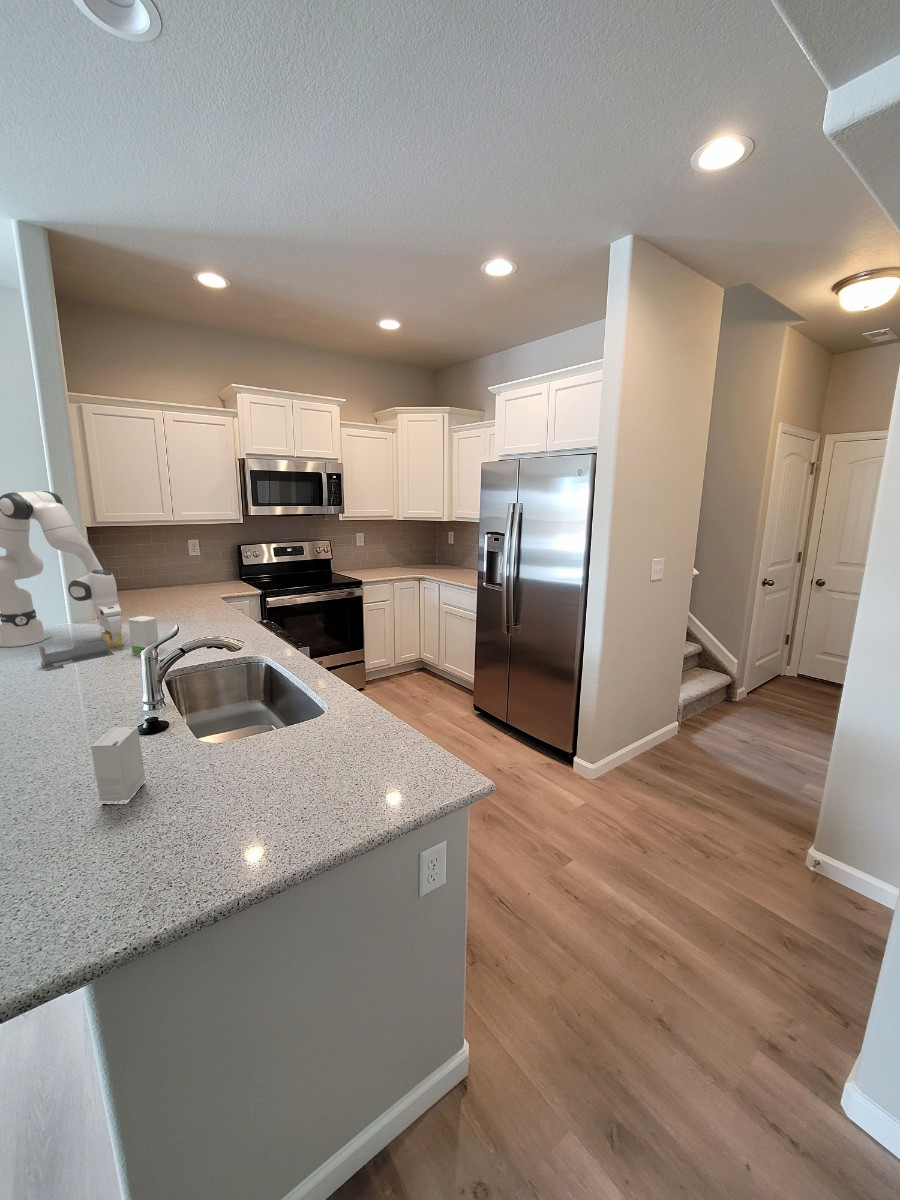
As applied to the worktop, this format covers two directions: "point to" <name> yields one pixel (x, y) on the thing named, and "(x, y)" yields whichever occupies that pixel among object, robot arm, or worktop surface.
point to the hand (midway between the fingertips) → (112, 639)
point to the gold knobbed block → (107, 637)
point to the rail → (74, 655)
